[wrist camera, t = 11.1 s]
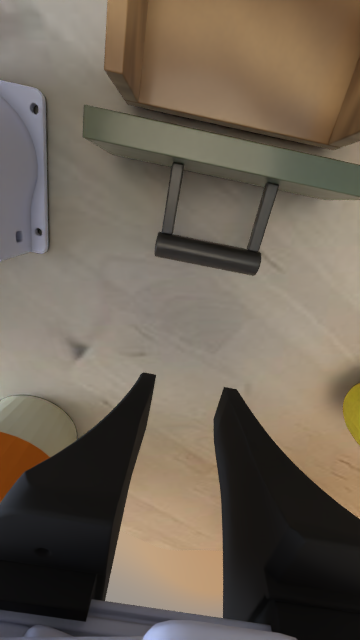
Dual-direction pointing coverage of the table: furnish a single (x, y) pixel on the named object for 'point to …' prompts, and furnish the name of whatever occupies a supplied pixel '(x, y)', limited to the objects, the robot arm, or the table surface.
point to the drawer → (234, 101)
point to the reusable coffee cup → (30, 435)
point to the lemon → (353, 411)
